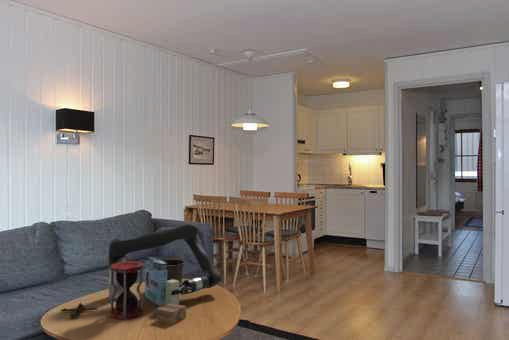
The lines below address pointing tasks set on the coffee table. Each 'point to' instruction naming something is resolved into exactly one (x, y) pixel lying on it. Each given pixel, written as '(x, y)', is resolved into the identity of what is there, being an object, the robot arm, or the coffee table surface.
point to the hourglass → (126, 290)
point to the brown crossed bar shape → (78, 310)
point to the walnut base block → (171, 313)
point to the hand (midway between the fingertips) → (168, 292)
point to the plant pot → (174, 269)
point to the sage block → (170, 287)
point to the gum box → (155, 280)
